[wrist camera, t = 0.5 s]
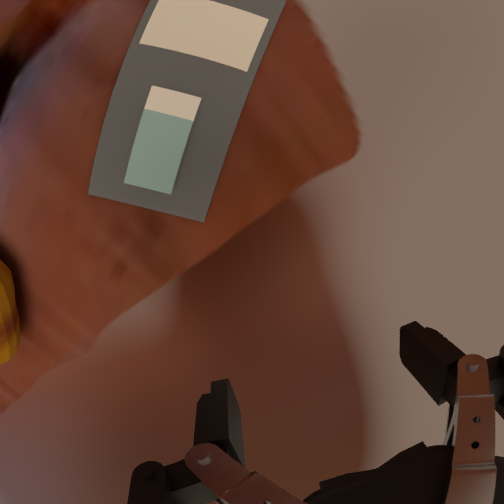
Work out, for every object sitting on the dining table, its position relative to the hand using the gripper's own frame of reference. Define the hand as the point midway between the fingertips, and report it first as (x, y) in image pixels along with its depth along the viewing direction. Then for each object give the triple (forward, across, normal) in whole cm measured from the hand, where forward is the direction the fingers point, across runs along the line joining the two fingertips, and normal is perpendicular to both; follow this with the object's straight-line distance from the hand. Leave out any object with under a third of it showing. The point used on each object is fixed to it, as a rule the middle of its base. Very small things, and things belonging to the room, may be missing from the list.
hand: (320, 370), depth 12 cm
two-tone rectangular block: (+21, +7, -15) cm, 27 cm away
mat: (+21, +4, -20) cm, 29 cm away
